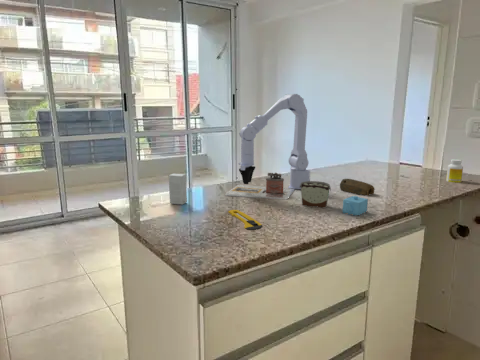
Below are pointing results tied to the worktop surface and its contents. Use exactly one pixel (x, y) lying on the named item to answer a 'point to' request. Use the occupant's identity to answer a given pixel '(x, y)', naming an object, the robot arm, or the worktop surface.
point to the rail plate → (257, 194)
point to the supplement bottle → (454, 171)
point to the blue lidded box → (355, 205)
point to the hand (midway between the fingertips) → (247, 182)
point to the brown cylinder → (356, 187)
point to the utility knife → (246, 220)
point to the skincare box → (177, 188)
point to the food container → (315, 193)
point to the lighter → (274, 184)
